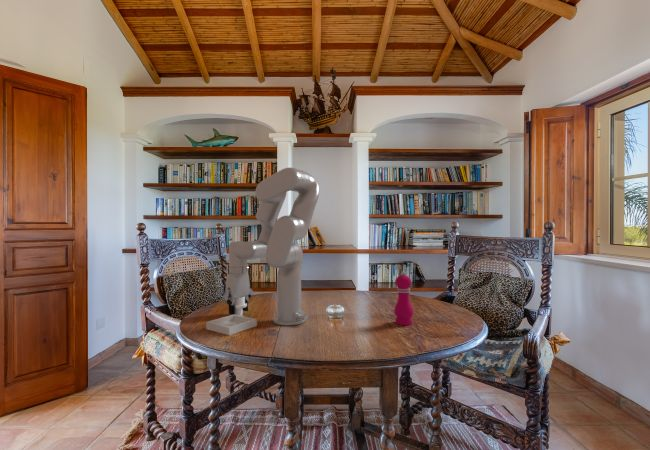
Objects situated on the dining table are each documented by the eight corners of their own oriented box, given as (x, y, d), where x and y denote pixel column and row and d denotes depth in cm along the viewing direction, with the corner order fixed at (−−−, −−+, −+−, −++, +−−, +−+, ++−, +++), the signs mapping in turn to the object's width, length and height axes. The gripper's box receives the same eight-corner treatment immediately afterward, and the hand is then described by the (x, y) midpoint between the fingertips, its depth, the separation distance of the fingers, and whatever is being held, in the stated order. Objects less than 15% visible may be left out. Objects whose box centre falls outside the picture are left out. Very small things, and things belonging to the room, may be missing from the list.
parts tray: (256, 325, 129) (256, 319, 129) (229, 335, 118) (229, 327, 118) (233, 320, 137) (233, 314, 137) (206, 329, 126) (206, 322, 126)
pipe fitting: (239, 318, 140) (238, 299, 140) (227, 316, 144) (226, 297, 144) (250, 315, 145) (250, 296, 145) (238, 312, 149) (238, 294, 149)
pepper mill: (415, 321, 133) (414, 270, 133) (411, 326, 126) (411, 272, 126) (396, 319, 136) (396, 269, 136) (392, 324, 129) (391, 272, 129)
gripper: (247, 267, 154) (247, 307, 154) (215, 272, 140) (216, 315, 139) (259, 268, 150) (259, 309, 149) (227, 273, 135) (228, 318, 135)
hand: (238, 312), depth 144 cm, fingers closed on pipe fitting, 6 cm apart
